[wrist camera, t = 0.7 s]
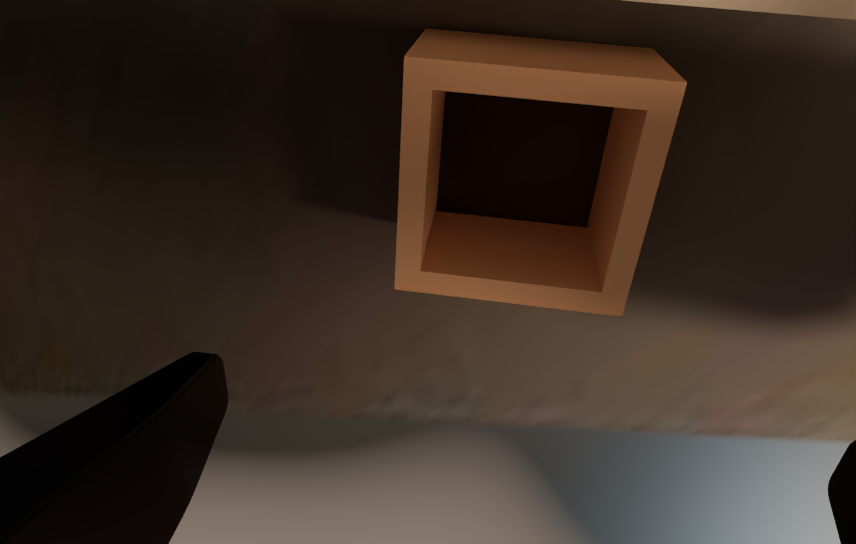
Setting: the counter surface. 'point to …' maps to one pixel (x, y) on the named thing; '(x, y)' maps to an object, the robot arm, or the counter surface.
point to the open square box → (524, 240)
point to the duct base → (776, 6)
